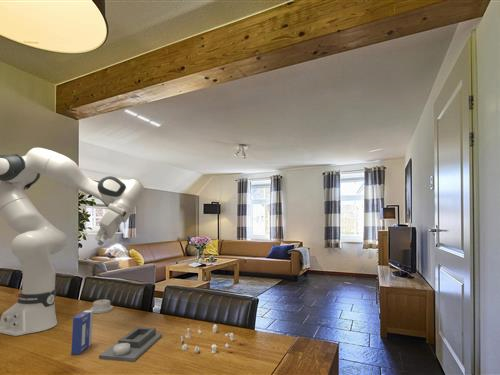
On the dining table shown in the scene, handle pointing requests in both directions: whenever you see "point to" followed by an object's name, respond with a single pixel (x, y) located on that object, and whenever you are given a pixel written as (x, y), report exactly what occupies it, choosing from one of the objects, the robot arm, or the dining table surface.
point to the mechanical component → (101, 306)
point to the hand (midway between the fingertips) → (97, 242)
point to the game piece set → (211, 346)
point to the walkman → (82, 332)
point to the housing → (132, 345)
